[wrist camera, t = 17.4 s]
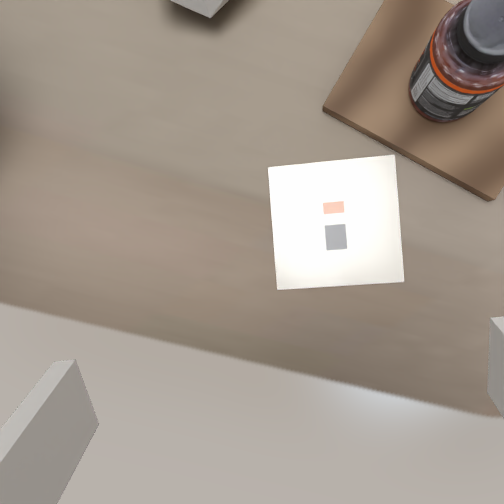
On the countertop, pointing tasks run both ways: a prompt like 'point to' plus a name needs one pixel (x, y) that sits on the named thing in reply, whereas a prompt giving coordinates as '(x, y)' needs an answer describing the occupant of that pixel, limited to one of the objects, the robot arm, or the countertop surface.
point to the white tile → (336, 223)
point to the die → (202, 6)
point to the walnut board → (403, 111)
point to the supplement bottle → (460, 62)
